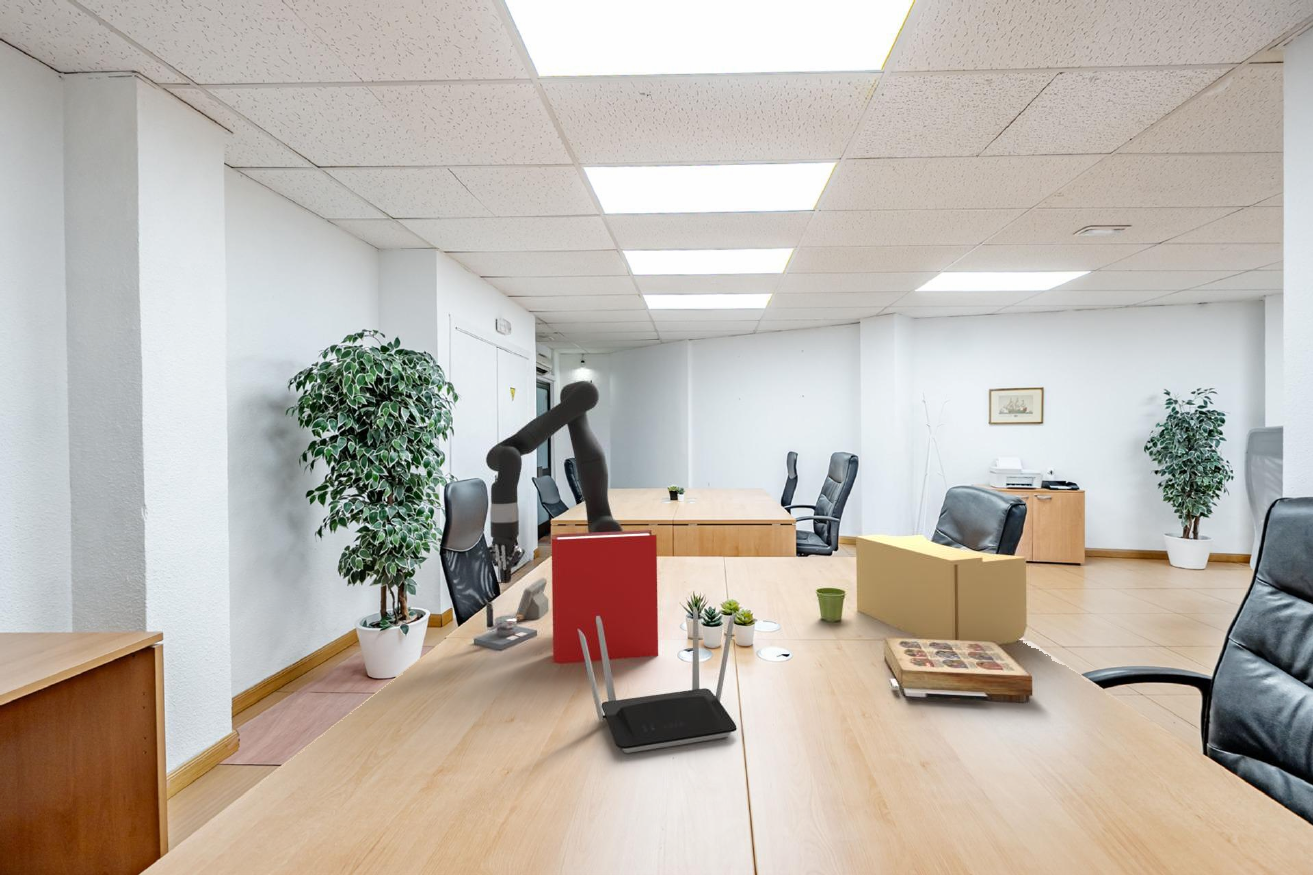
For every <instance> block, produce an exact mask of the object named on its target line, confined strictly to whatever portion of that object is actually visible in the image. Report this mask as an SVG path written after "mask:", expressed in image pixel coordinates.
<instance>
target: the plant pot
mask: <svg viewBox="0 0 1313 875" xmlns="http://www.w3.org/2000/svg"><path fill="white" fill-rule="evenodd" d="M815 594H816V596H817V600H818V605H819V613H820V617H821V620H824V621H826V622H837V621H838V622H839V621H841V620H842V618H843V609H844V600H845V596H846V594H847V591H846V590H844V589H842V588H836V587H819V588H816V589H815Z"/></svg>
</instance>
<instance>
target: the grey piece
mask: <svg viewBox="0 0 1313 875" xmlns="http://www.w3.org/2000/svg"><path fill="white" fill-rule="evenodd" d="M485 604H486V611H485V612H486V614H485V615H486V628H487V631H490V632H492V631H494V630H497V628H498V629H508V628H513V627H515V626H518V625H517V620H520V619H523V615H516V614H515V615H501V616H497V617H496V618H495V619H494V603H493V601H492V602H491V601H490V602H486V603H485ZM523 620H524V619H523Z"/></svg>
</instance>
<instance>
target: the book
mask: <svg viewBox="0 0 1313 875" xmlns="http://www.w3.org/2000/svg"><path fill="white" fill-rule="evenodd" d="M657 540H658V539H657V534H652V530H651V529H649V530H648V529H646V530H645V529H644V530H625V531H624V530H622V531H620V532H597V533H588V532H581V533H580V532H576V533H574V532H573V533H556V534H551V587H552V588H551V589H552V590H551V594H552V596H551V598H552V599H551V600H552V601H551V602H552V604H551V605H552V653H553V654H552V655H553V656H552V657H553V663H554V664H558V665H563V664H572V663H573V664H574V663H586V662H585V658H584V654H583V649H582V645H581V641H580V636H579V632H578V629H579V630H580V631H581V632H582V633H583V635H584V636H585V638H586V643H587V647H588V651H589V656H590V660H591V662H599V661H602V655H601V649H600V642H599V636H598V629H597V623H596V616H600V618H601V621H602V626H603V631H604V636H605V642H606V647H607V653H608V658H609V661H611V660H623V659H625V660H626V659H635V658H636V659H637V658H647V657H658V656H659V624H658V623H659V616H658V612H659V610H658V607H659V606H658V605H659V604H658V556H657V555H658V554H657V552H658V549H657V546H658V545H657V544H658V542H657Z"/></svg>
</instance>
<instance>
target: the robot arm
mask: <svg viewBox="0 0 1313 875" xmlns="http://www.w3.org/2000/svg"><path fill="white" fill-rule="evenodd" d="M599 392H600V391H599V389H598V388H597V386H596V385H595V384H594V383H593V382H591V381H588V380H580V381H576V382H572V383H569V384H565V386H564V385H563V387H562V388H561V391H560V395H559V401H560V402H559V403H558V404H556V405H555V406H554V407H552V408H550V409H549V410H547V411H545V412H544V413H542V414H540V415H539V416H537V417H535V418H534V419H532V420H530V421H529V422H528V423H527V424H525V425H524V426H523V427H521V428H520V429H519V430H518V431H517V432H515V434H513V435H511V436H509V437H507V438H506V439H503V440H501V441H500V442H498V443H497V444H496V445H494V446H493V447H492V448H491V449H490V450H489V451H488V452H487V455H486V458H485V461H486V465H487V467H488V468H489V469H490V470H491V471H494V472H497V478H496V481H494V482H493V483H492V484H491V488H490V495H491V496H490V504H491V505H490V513H489V515H490V519H489V520H490V537H491V538H492V540H491V545H490V546H487V547H486V548H485V551H486V553H487V556H488V557H489V559H490V561H491V563H492V564H493V566H494V567H497V569H499V581H500V583H501V584H509V583H510V582H511V581H512V569H513V568H515V567H517V566H519V563H520V561H522V558H523V557H524V555H525V552H526V551H525V549H521V547H519V542H518V537H519V535H520V533H519V532H520V528H519V526H520V525H519V521H520V511H519V506H518V505H519V504H518V487H519V486H518V485H519V482H520V479H521V478H520V477H521V472H522V466H523V460H522V456H524V455H529V454H531V453H533V452H534V451H535V450H537V449H538V448H539V447H540V446H541V445H543V444H544V443H545V442H546V441H547V440H548V439H549V438H551V437H552V436H554V435H555V434H556V433H557V432H559V430H560V429H562V428H563V427H564V426H566V425H567V428H568V433H569V436H570V437H569V438H570V441H571V447H572V451H573V457H574V462H575V468H576V471H577V472H576V473H577V477H578V481H579V484H580V485H579V486H580V488H581V489H580V490H581V492H582V497H583V498H584V504H585V509H586V510H585V511H586V512H585V513H586V519H587V520H586V521H587V530H588V532H587V533H597V532H620V531H623V527H622V525H621V523H620V522H619V521H618V520H616V519H614V517H613V513H612V510H611V508H610V504H609V497H608V492H609V473H608V472H609V471H608V466H607V461H606V455H605V452H604V449H603V447H602V446H601V443H600V442H599V441H598V438H596V436H595V435H594V433H593V431H592V429H591V427H590V424H589V420H588V415H587V414H588V413H587V412H588V411H590V410H592V409H594V408H595V407H596V405H597V404H598V403H599V399H600V393H599Z"/></svg>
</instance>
